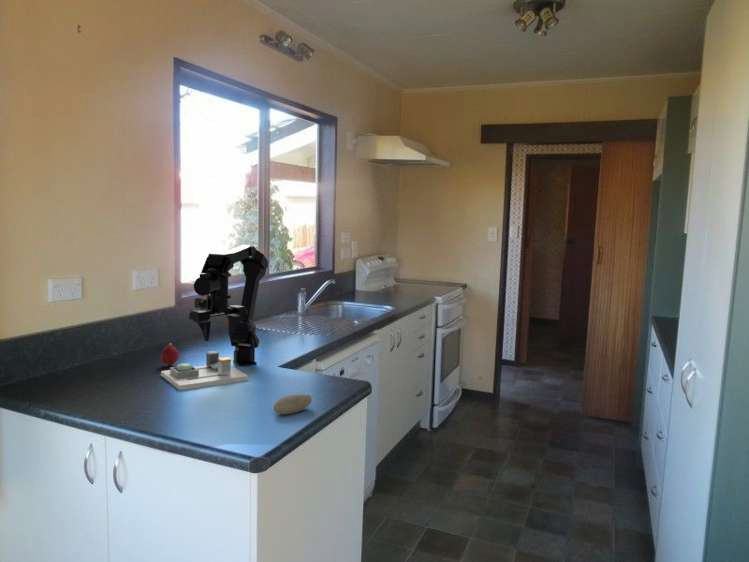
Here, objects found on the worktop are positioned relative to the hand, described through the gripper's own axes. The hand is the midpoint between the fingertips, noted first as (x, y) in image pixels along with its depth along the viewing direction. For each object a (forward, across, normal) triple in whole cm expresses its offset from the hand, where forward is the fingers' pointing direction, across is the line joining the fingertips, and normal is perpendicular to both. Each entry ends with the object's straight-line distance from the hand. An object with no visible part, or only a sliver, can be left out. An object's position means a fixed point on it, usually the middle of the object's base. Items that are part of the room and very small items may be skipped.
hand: (218, 339), depth 186 cm
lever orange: (+11, +1, +4) cm, 11 cm away
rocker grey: (+10, -2, -2) cm, 10 cm away
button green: (+9, +10, -4) cm, 14 cm away
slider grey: (+11, -2, -6) cm, 12 cm away
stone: (+12, +6, +42) cm, 44 cm away
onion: (+13, +5, -21) cm, 25 cm away
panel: (+12, +5, -1) cm, 13 cm away
